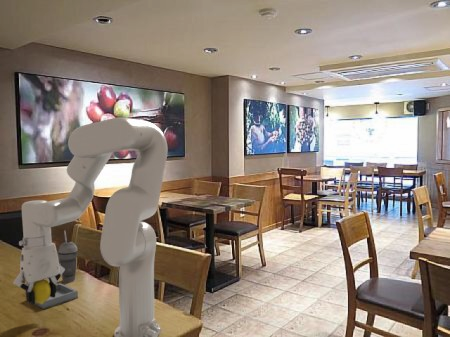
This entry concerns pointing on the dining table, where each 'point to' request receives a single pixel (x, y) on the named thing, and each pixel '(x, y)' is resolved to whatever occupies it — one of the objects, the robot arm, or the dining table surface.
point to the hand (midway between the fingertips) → (41, 299)
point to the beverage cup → (68, 260)
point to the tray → (59, 296)
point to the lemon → (41, 291)
